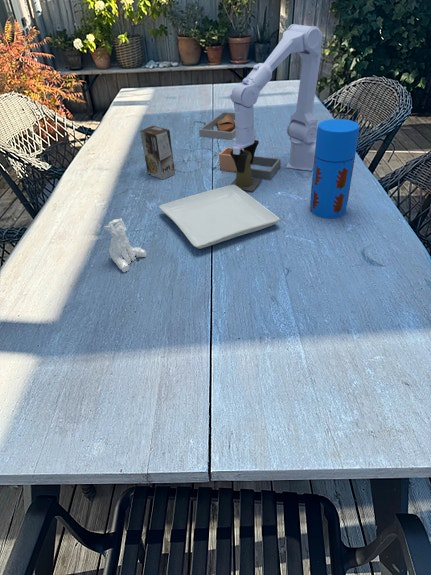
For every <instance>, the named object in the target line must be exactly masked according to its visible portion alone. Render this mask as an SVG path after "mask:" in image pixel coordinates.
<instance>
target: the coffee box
mask: <svg viewBox="0 0 431 575" xmlns="http://www.w3.org/2000/svg"><path fill="white" fill-rule="evenodd" d="M139 132H140V138H141V145H142V149H143V155H144V160H145V161H144V162H145V166H146V172H147V174H148V173H149V174H151V175H150V176H152V175H153V176H152V177H155V178H157V179H158V178H159V179H161V180H165V179H167V178H170V177H171V176H175V175H176V171H175V162H174V156H173V155H174V154H173V148H172V147H173V146H172V140H171V132H170V129H168V128H164V127H159V126H156V125H151V126H148V127H146V128H144V129H142V130H139ZM149 174H148V175H149Z"/></svg>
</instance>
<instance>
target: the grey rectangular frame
mask: <svg viewBox="0 0 431 575" xmlns="http://www.w3.org/2000/svg"><path fill="white" fill-rule="evenodd" d="M281 160H282V159H281V158H277V157H269V156H268V157H267V156H261V155H259V156H258V155H254V159H253V163H252V164H250V165H251V166H252V165H256V166H265V167H270V168H269V170H268V169H261V168H254V167H251V172H252V178H255V179H262V180H266V181H267V180H269V181H270V180H272V178H274V176H275V174H277V172H278V171H279V169H280V168H281V167H282V166H281V164H282V161H281Z"/></svg>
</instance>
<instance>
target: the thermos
mask: <svg viewBox="0 0 431 575" xmlns="http://www.w3.org/2000/svg"><path fill="white" fill-rule="evenodd" d="M359 135H360V125H359V123H357V122H356V121H354V120H350V119H345V118H332V119H326V120H323V121H321V122H319V123H317V136H316V138H315V142H316V146H315V157H314V167H313V170H312V179H311V188H310V200H309V201H310V204H309V206H310V208H309V210H310V212H311V213H312V214H313V215H315V216H316V217H319V218H323V219H336V218H339V217H342V216H343V215H345V213H346V210H347V208H348V207H347V206H348V201H349V196H350V190H351V185H352V178H353V172H354V164H355V159H356V153H357V146H358V142H359V141H358V140H359Z"/></svg>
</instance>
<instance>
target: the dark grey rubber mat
mask: <svg viewBox="0 0 431 575" xmlns="http://www.w3.org/2000/svg"><path fill="white" fill-rule="evenodd" d="M252 179H253V184H252V185H251V186H248V187H239V186H237V185H236V184H235V183H236V178H235V179H234V180H233V181H232V182H231V183H230V184H229V185H236V186H237V187H239V188H240V189H242V190H243V191H244V192H246V193H247V192H248V193H254V192H255V191H256V189H257V188H258V187H259V186H260V184H261V183H262V182H263V179H260V178H252Z"/></svg>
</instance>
